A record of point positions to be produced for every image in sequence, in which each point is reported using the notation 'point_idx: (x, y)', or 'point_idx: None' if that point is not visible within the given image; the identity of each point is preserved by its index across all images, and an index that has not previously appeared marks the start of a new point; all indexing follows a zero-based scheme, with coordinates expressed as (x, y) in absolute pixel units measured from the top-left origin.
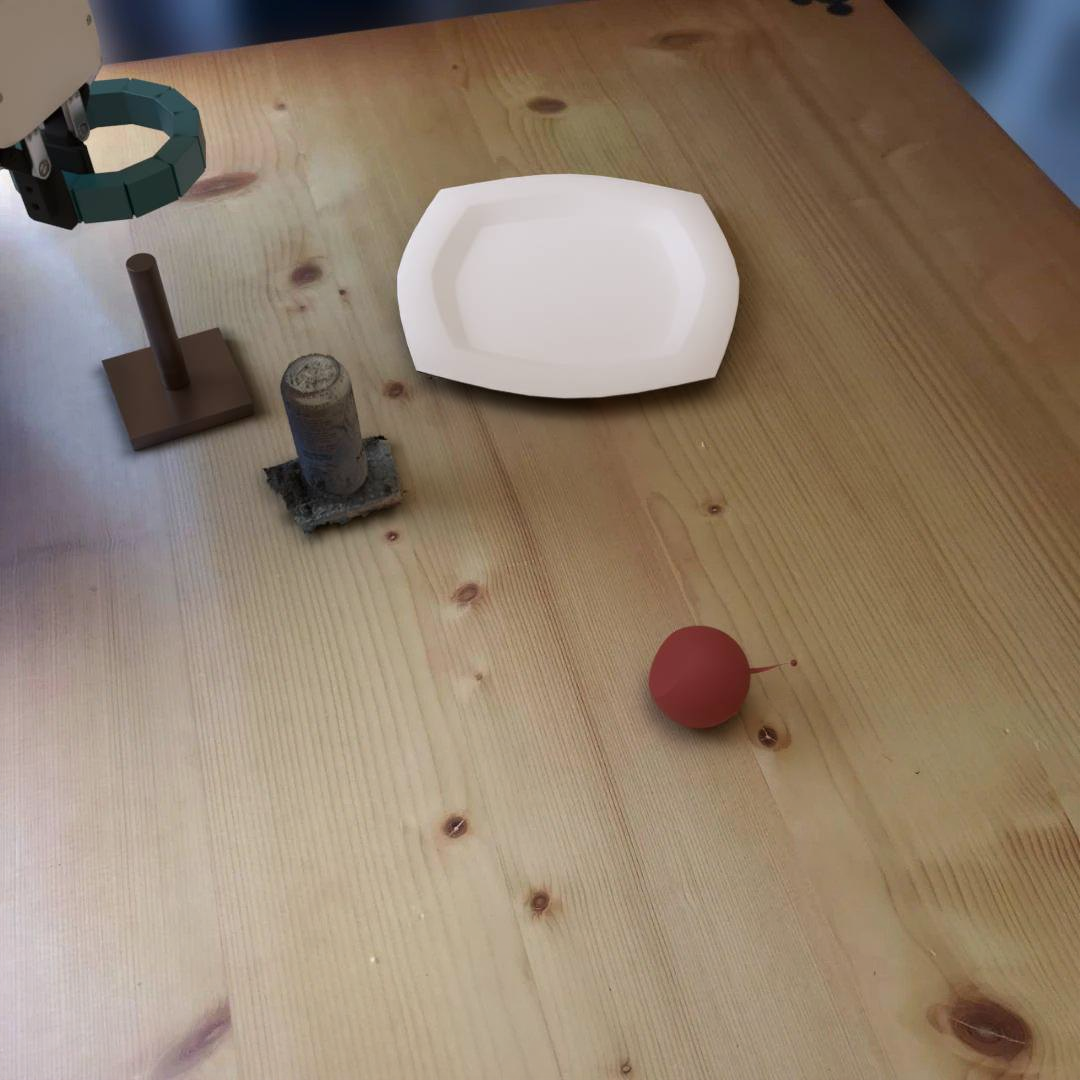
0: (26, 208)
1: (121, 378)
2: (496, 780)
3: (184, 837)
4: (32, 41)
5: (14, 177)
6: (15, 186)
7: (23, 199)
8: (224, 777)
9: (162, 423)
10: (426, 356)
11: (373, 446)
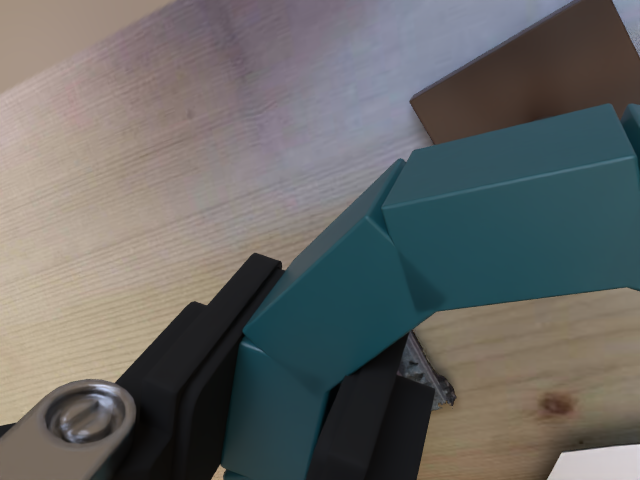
0: (184, 309)
1: (551, 42)
2: None
3: (4, 263)
4: None
5: (180, 337)
6: (381, 177)
7: (166, 330)
8: (55, 284)
9: (447, 141)
10: (588, 466)
11: (435, 394)
